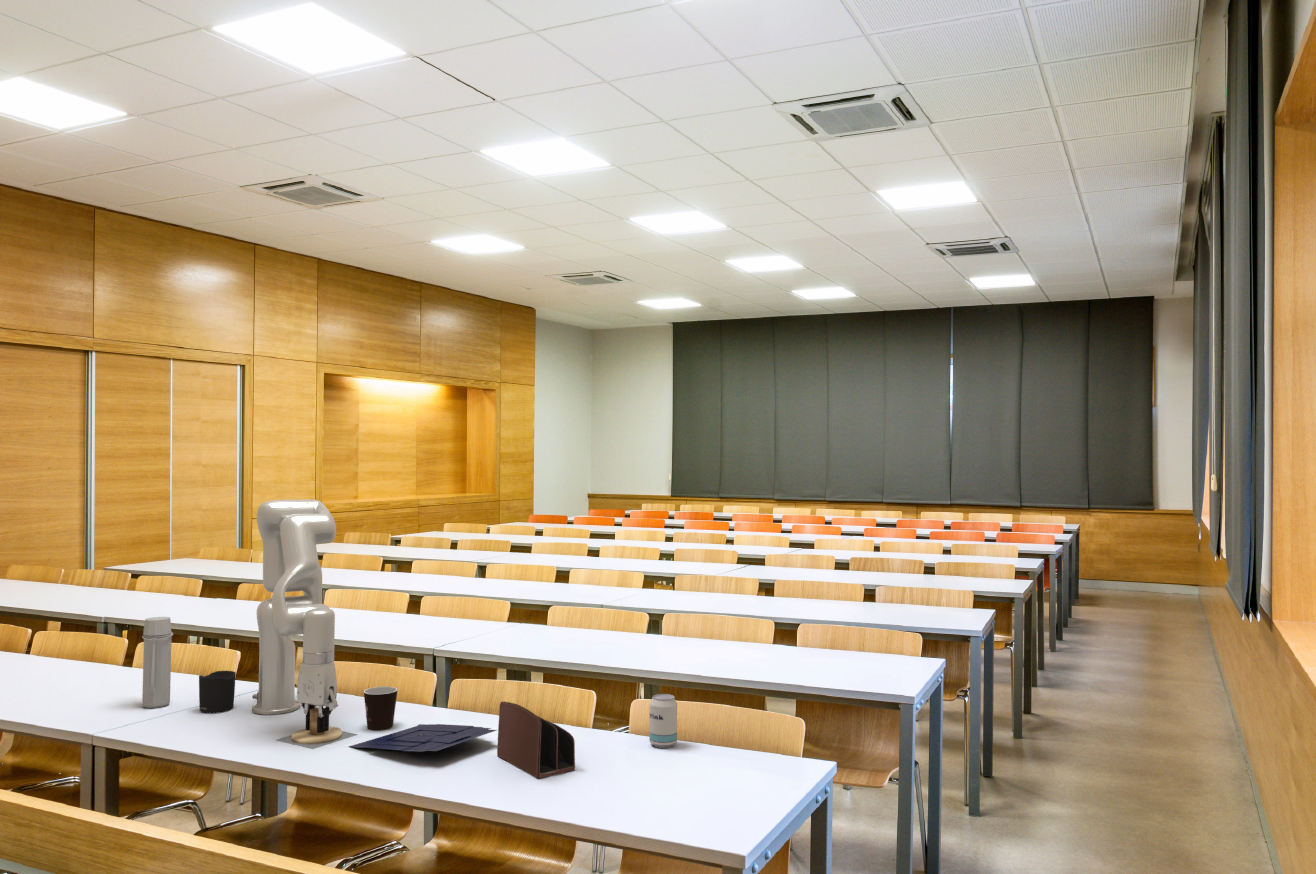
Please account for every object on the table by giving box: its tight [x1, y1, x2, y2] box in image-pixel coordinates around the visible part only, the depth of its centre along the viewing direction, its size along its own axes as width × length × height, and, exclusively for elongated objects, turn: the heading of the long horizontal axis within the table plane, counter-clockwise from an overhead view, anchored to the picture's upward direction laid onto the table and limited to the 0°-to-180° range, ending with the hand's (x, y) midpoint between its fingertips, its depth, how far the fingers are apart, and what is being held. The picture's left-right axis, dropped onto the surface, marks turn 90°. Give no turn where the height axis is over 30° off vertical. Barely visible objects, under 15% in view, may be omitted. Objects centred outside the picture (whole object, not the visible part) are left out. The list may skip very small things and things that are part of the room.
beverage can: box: [648, 693, 678, 749], centre depth 227 cm, size 7×7×12 cm
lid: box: [291, 707, 343, 744], centre depth 230 cm, size 12×12×7 cm
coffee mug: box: [363, 686, 399, 732], centre depth 241 cm, size 12×9×10 cm
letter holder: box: [496, 701, 576, 780], centre depth 212 cm, size 10×20×14 cm, turn 37°
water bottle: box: [141, 616, 174, 709], centre depth 260 cm, size 9×8×25 cm
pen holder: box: [198, 670, 237, 714], centre depth 257 cm, size 9×9×10 cm
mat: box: [275, 730, 359, 750], centre depth 230 cm, size 14×14×1 cm
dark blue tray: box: [348, 723, 498, 753], centre depth 224 cm, size 24×30×4 cm
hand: (317, 729), depth 230 cm, fingers closed on lid, 3 cm apart
